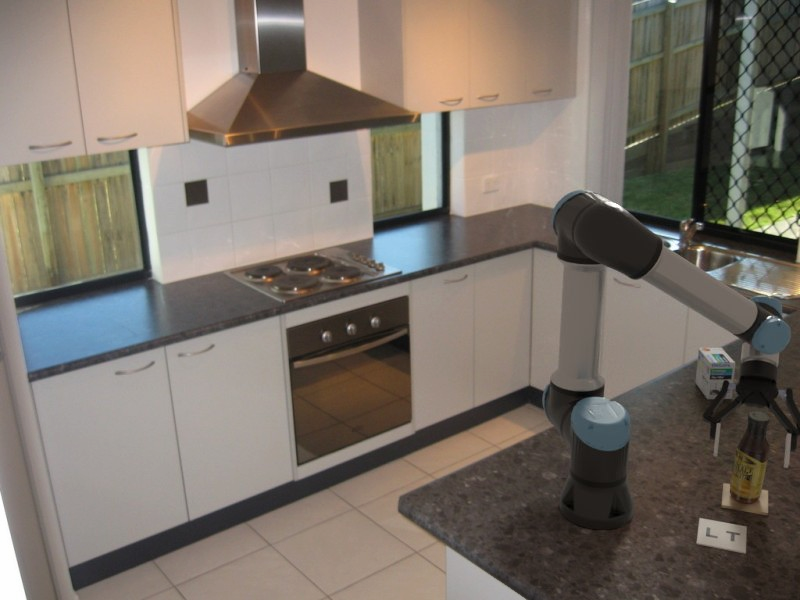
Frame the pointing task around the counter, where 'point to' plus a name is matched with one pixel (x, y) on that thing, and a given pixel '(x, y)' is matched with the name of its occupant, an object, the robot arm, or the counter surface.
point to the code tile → (722, 535)
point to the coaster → (755, 507)
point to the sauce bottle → (751, 460)
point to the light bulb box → (714, 371)
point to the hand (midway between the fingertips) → (750, 460)
